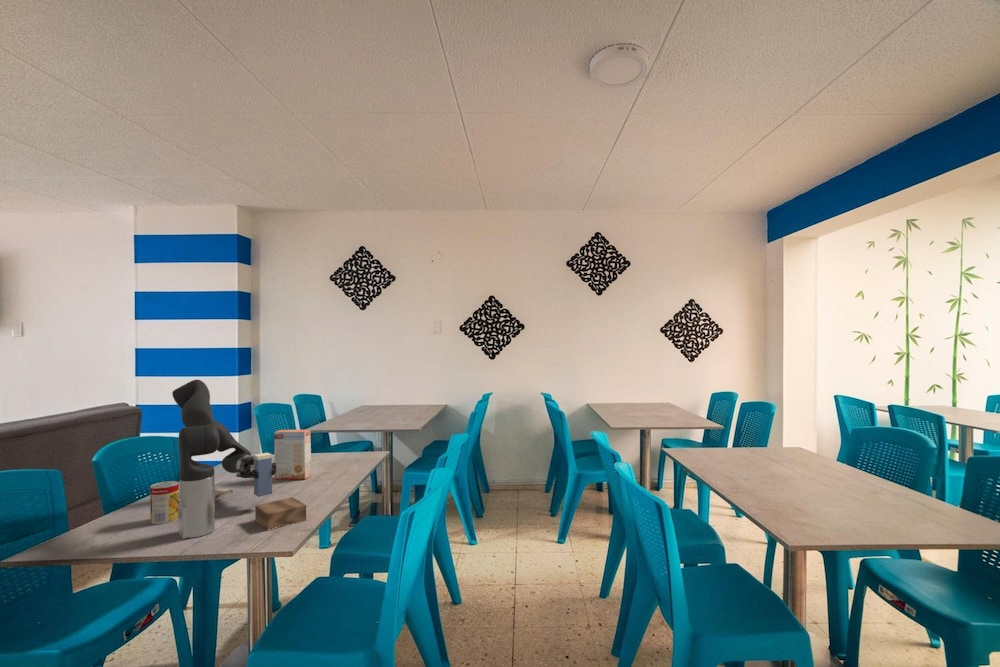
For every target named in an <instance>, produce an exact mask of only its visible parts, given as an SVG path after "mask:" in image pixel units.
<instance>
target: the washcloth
mask: <svg viewBox="0 0 1000 667" xmlns="http://www.w3.org/2000/svg"><path fill="white" fill-rule="evenodd" d="M231 493H232V494H233V493H234V489H233V488H214V500H216V499H219V498H221V497H224V496H226V495H229V494H231ZM232 494H231V495H232ZM229 496H230V495H229ZM224 498H225V497H224ZM219 500H220V499H219ZM179 503H180V497H179Z"/></svg>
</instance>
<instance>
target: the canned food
mask: <svg viewBox="0 0 1000 667" xmlns="http://www.w3.org/2000/svg"><path fill="white" fill-rule="evenodd" d="M149 488H150V489H149V490H150V504H149V505H150V506H149V507H150V510H149V511H150V524H151V523H152V525H163V523H165V524H168V522H169V523H172V522H171V521H173V522H175V521H177V520H178V503H179V498H180V481H178V480H170V481H169V480H167V481H162V482H161V481H160V482H158V483H157V482H156V483H154V484H151V485H150V487H149ZM176 519H177V520H176ZM174 520H175V521H174Z"/></svg>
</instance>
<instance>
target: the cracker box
mask: <svg viewBox="0 0 1000 667" xmlns="http://www.w3.org/2000/svg"><path fill="white" fill-rule="evenodd" d="M311 435H312V434H311V429H280V430H276V431H274V436H273V437H274V438H273V440H274V442H273V443H274V447H273V448H274V449H273V450H274V463H276V471H277V472H276V473H275V474H274V480H301V479H304V480H307V479H308V478H310V477H311V476H312V454H311V453H312V448H311V447H312V446H311V444H312V443H311V441H312V440H311Z"/></svg>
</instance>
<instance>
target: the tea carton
mask: <svg viewBox="0 0 1000 667" xmlns="http://www.w3.org/2000/svg"><path fill="white" fill-rule="evenodd" d="M272 455H273V454H272V453H269V452H264V453H262V452H261V453H257V454H256V453H255V454H253V456H254V471H257V472H259V478H257V479H256V478H253V494H254V495H255V496H256V497H258V498H259V497H264V496H268V495H272V494H273V476H272V463H273V461H272V460H273V458H272V457H273V456H272Z"/></svg>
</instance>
